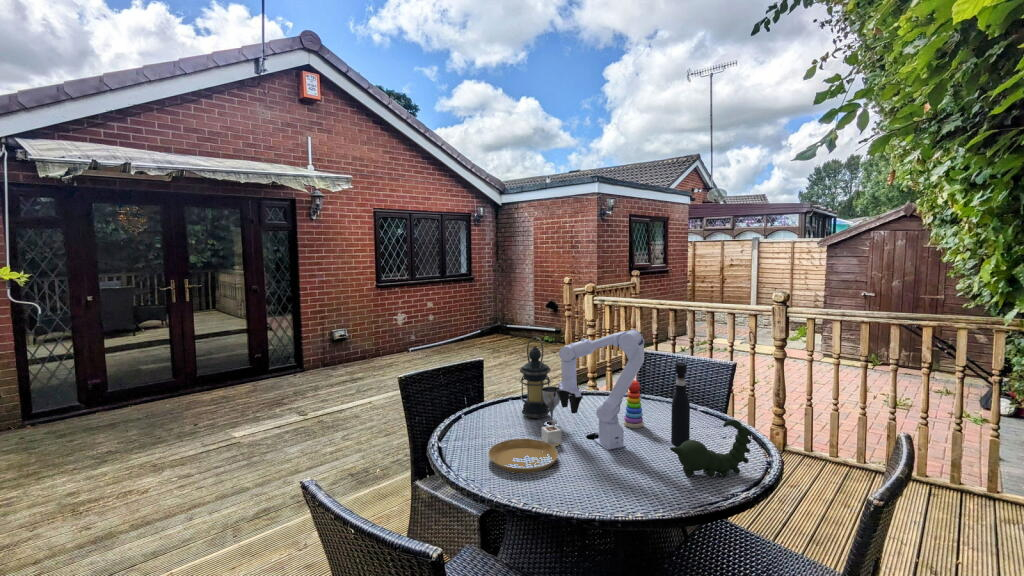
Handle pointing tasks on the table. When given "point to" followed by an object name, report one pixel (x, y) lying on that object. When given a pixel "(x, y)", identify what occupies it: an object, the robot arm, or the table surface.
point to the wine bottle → (680, 409)
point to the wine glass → (551, 400)
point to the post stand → (554, 444)
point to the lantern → (534, 383)
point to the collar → (551, 435)
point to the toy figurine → (714, 454)
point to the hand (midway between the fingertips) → (569, 410)
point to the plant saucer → (521, 454)
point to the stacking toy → (633, 407)
